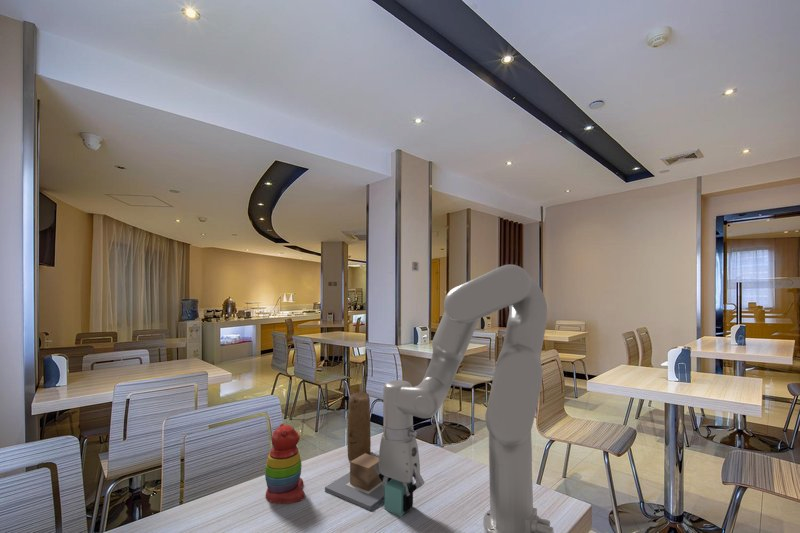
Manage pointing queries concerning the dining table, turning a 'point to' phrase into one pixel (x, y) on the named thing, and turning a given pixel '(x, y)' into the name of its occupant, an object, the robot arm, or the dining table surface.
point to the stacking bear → (284, 467)
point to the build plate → (356, 493)
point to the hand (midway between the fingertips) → (398, 504)
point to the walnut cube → (364, 472)
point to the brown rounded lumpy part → (358, 425)
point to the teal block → (394, 496)
